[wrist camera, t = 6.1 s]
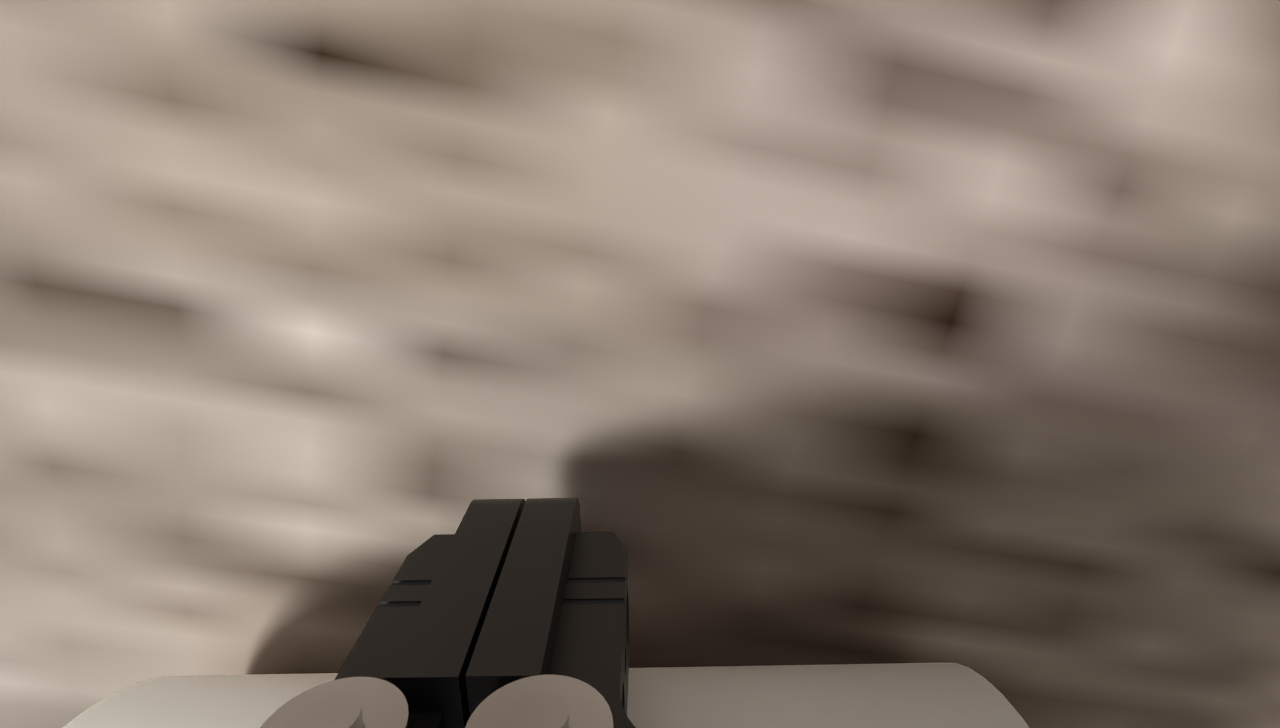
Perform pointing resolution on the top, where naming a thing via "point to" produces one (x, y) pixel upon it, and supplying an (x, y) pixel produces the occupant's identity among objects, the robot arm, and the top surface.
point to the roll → (631, 698)
